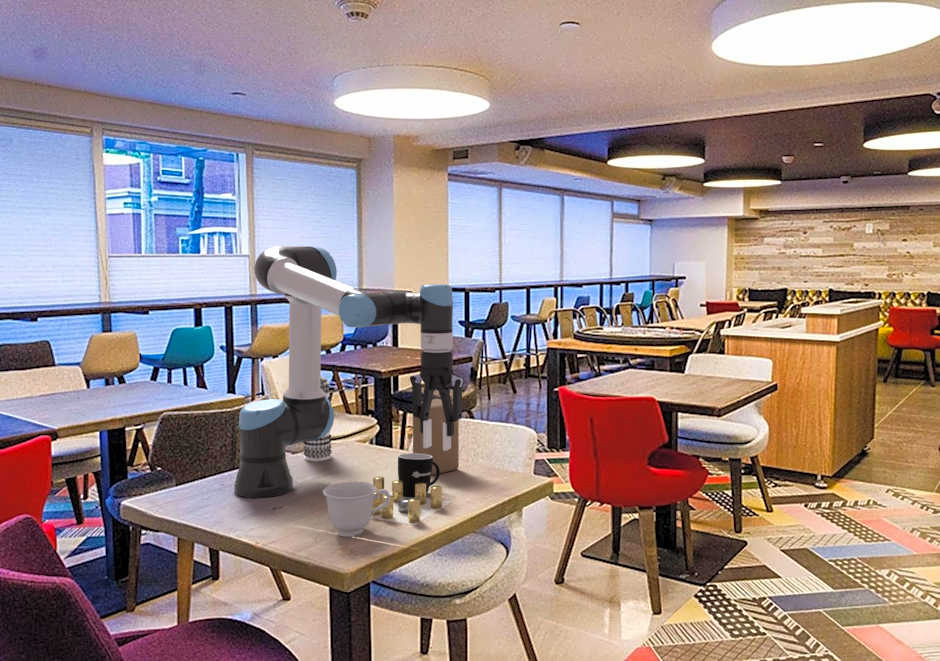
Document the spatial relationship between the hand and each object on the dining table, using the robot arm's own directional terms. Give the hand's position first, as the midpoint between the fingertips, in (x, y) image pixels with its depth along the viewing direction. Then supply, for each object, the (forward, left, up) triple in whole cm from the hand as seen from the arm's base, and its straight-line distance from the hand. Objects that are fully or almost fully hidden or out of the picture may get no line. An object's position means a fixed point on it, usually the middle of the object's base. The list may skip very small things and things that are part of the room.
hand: (437, 448), depth 180 cm
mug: (-12, +12, -17) cm, 24 cm away
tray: (-13, +1, -17) cm, 21 cm away
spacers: (-11, 0, -16) cm, 20 cm away
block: (-20, +36, -17) cm, 44 cm away
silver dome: (-8, 0, -16) cm, 18 cm away
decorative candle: (-59, +32, -17) cm, 69 cm away
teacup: (-11, -17, -17) cm, 27 cm away
